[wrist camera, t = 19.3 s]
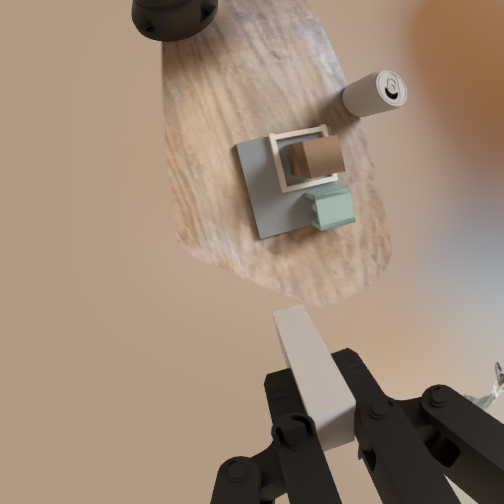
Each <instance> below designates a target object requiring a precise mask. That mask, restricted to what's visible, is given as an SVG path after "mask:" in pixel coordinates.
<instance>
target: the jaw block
mask: <svg viewBox="0 0 504 504" xmlns="http://www.w3.org/2000/svg"><path fill="white" fill-rule="evenodd" d="M285 149H286V153H287V157H288V161H289V165H290V169H291V173H292V175H293V176H299V177H304V178H309V179H313V178H317V177H322V176H326V175H330V174H335V173H339V172H344V171H345V166H344V161H343V157H342V152H341V148H340V143H339V139H338V135H333V136H327V137H322V138H316V139H311V140H306V141H301V142H297V143H293V144H289V145H285Z"/></svg>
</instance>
